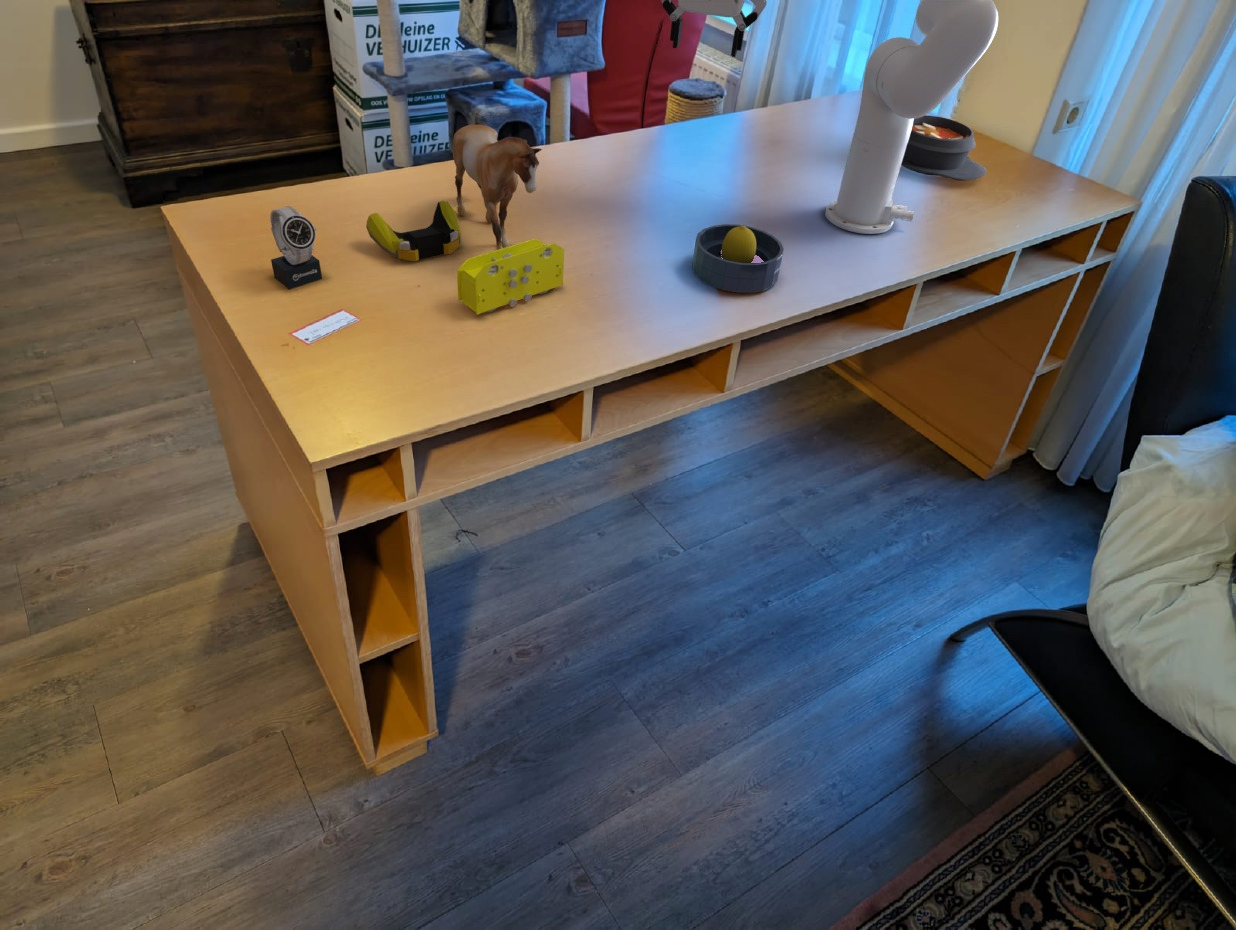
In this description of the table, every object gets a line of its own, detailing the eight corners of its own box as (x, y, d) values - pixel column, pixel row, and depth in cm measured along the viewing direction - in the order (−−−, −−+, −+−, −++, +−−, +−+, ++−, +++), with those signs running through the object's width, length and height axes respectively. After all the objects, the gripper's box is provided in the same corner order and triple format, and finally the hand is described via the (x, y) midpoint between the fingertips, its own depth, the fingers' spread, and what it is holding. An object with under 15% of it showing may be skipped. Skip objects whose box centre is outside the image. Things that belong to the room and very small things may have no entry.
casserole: (999, 176, 188) (1013, 137, 182) (954, 196, 178) (967, 155, 172) (901, 139, 201) (911, 101, 196) (853, 155, 191) (863, 116, 185)
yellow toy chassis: (478, 320, 128) (477, 269, 123) (457, 304, 131) (454, 253, 126) (564, 290, 137) (566, 241, 132) (542, 275, 140) (543, 227, 135)
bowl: (780, 262, 150) (786, 232, 146) (772, 302, 139) (779, 271, 136) (698, 248, 152) (703, 218, 148) (685, 286, 141) (689, 255, 137)
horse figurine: (541, 275, 140) (543, 147, 127) (494, 282, 137) (492, 152, 124) (484, 195, 161) (481, 79, 148) (443, 199, 158) (436, 81, 145)
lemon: (740, 282, 142) (749, 237, 137) (711, 270, 144) (719, 225, 139) (757, 271, 146) (766, 226, 140) (729, 259, 148) (737, 215, 143)
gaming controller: (365, 243, 144) (388, 270, 138) (361, 211, 140) (384, 237, 134) (450, 226, 150) (475, 252, 144) (448, 196, 147) (474, 220, 141)
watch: (295, 295, 130) (282, 225, 123) (268, 273, 134) (255, 205, 127) (329, 283, 133) (318, 215, 126) (302, 263, 137) (290, 196, 130)
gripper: (660, -74, 131) (648, 49, 142) (775, -59, 128) (754, 64, 140) (669, -81, 136) (657, 37, 147) (779, -67, 134) (759, 52, 145)
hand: (704, 50), depth 143 cm, fingers open, 9 cm apart
